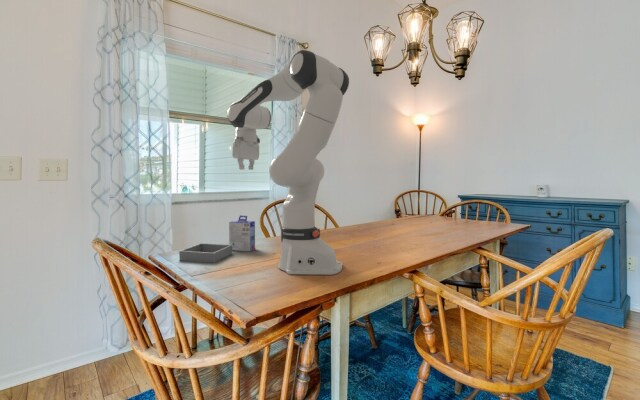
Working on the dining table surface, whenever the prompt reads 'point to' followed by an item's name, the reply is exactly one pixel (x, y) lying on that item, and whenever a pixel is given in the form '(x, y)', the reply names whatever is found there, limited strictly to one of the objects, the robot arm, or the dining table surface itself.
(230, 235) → the ink cartridge box
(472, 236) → the dining table surface
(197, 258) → the bin
